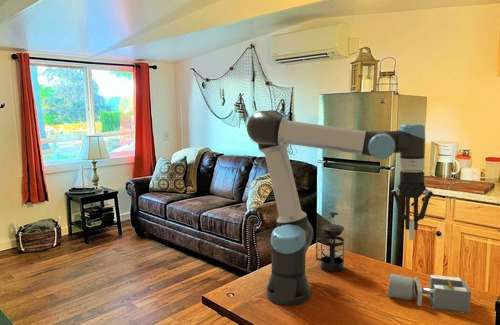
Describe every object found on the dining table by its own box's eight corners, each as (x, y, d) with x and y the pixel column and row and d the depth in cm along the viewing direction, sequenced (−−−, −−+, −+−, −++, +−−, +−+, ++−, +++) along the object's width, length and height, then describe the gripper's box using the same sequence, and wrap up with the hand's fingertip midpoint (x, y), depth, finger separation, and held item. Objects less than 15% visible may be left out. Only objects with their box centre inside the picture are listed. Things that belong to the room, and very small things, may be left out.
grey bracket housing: (432, 309, 120) (433, 287, 119) (427, 294, 129) (428, 274, 128) (469, 313, 116) (471, 291, 116) (461, 298, 126) (463, 277, 125)
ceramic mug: (414, 305, 122) (415, 282, 121) (387, 300, 126) (388, 278, 125) (414, 291, 132) (415, 270, 131) (390, 287, 135) (390, 266, 134)
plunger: (417, 305, 120) (418, 283, 119) (413, 289, 131) (414, 269, 130) (461, 310, 117) (462, 288, 116) (453, 294, 127) (454, 273, 126)
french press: (345, 264, 155) (346, 210, 152) (345, 273, 146) (346, 216, 143) (317, 261, 158) (317, 208, 155) (315, 271, 149) (315, 215, 146)
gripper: (391, 172, 124) (391, 241, 127) (435, 172, 120) (433, 243, 123) (390, 168, 131) (390, 234, 134) (432, 168, 127) (430, 236, 130)
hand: (411, 238), depth 128 cm, fingers closed
